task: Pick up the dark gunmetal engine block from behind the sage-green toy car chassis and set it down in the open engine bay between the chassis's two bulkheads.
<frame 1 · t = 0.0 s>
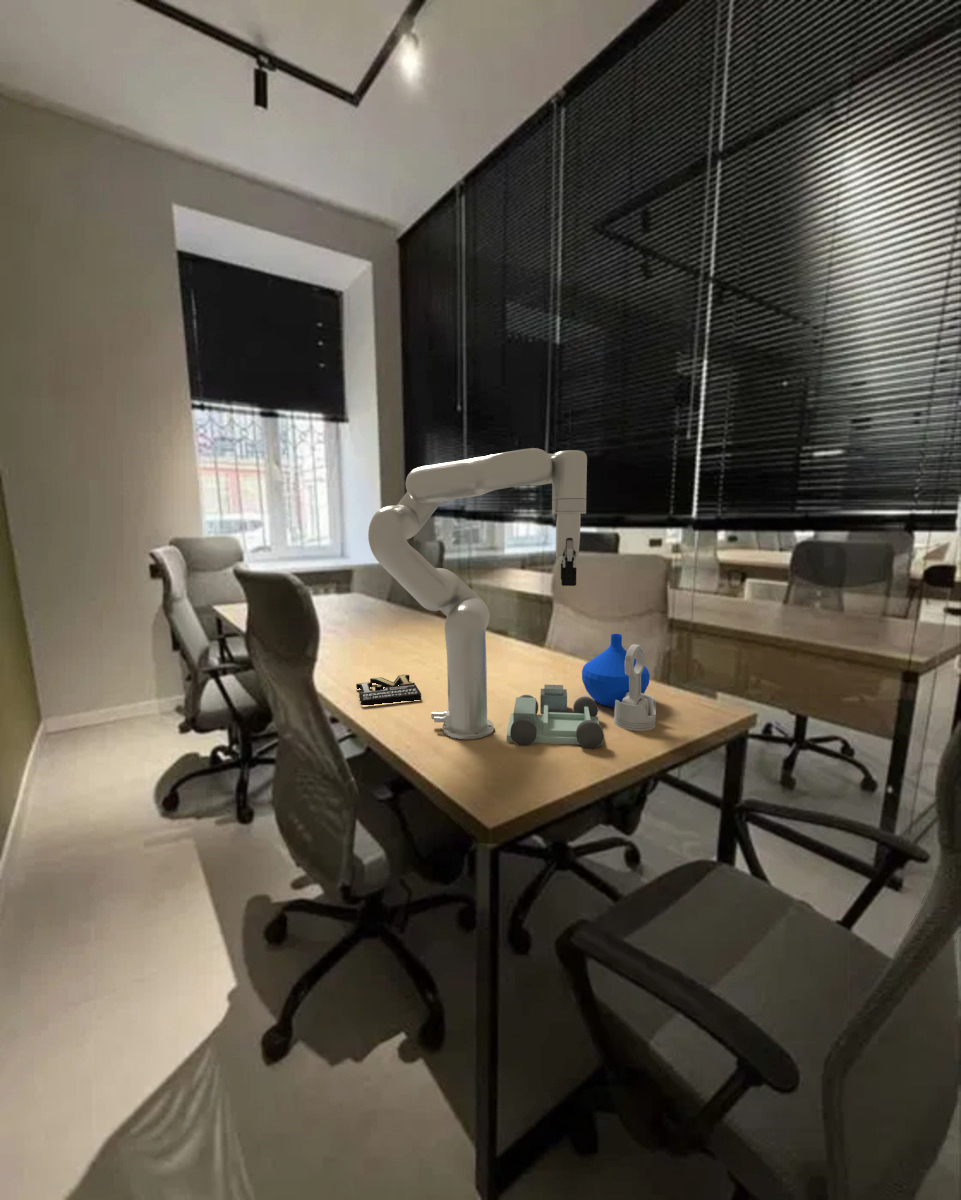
hand: (568, 582, 127), 37 cm above the table, tool pointing down, fingers open, 9 cm apart
vase: (614, 702, 155), on the table
engine component: (633, 724, 139), on the table
decorative sign: (387, 695, 164), on the table
engine block: (553, 709, 149), on the table
chassis: (553, 731, 134), on the table
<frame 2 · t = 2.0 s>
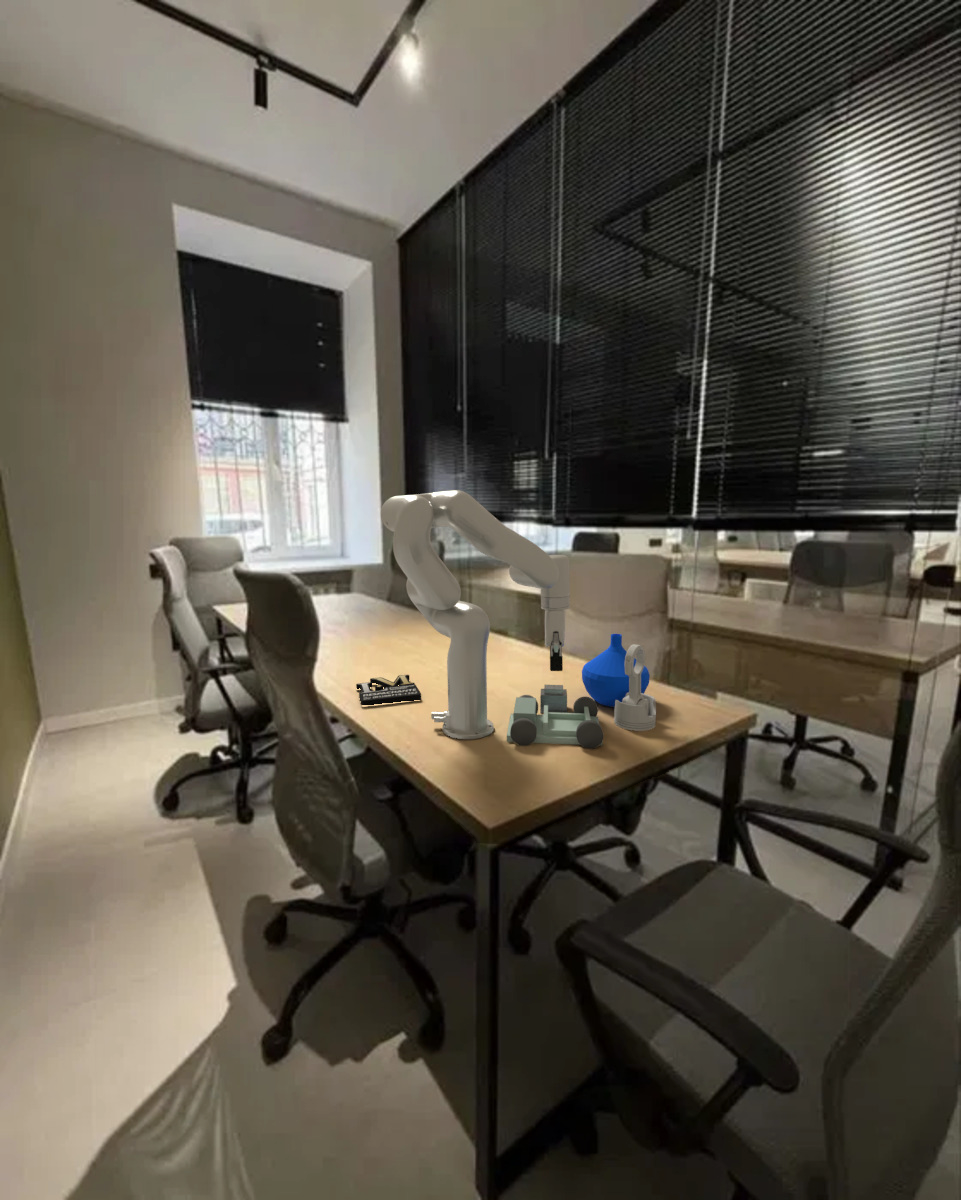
hand: (556, 665, 147), 12 cm above the table, tool pointing down, fingers open, 9 cm apart
nothing on the table moved.
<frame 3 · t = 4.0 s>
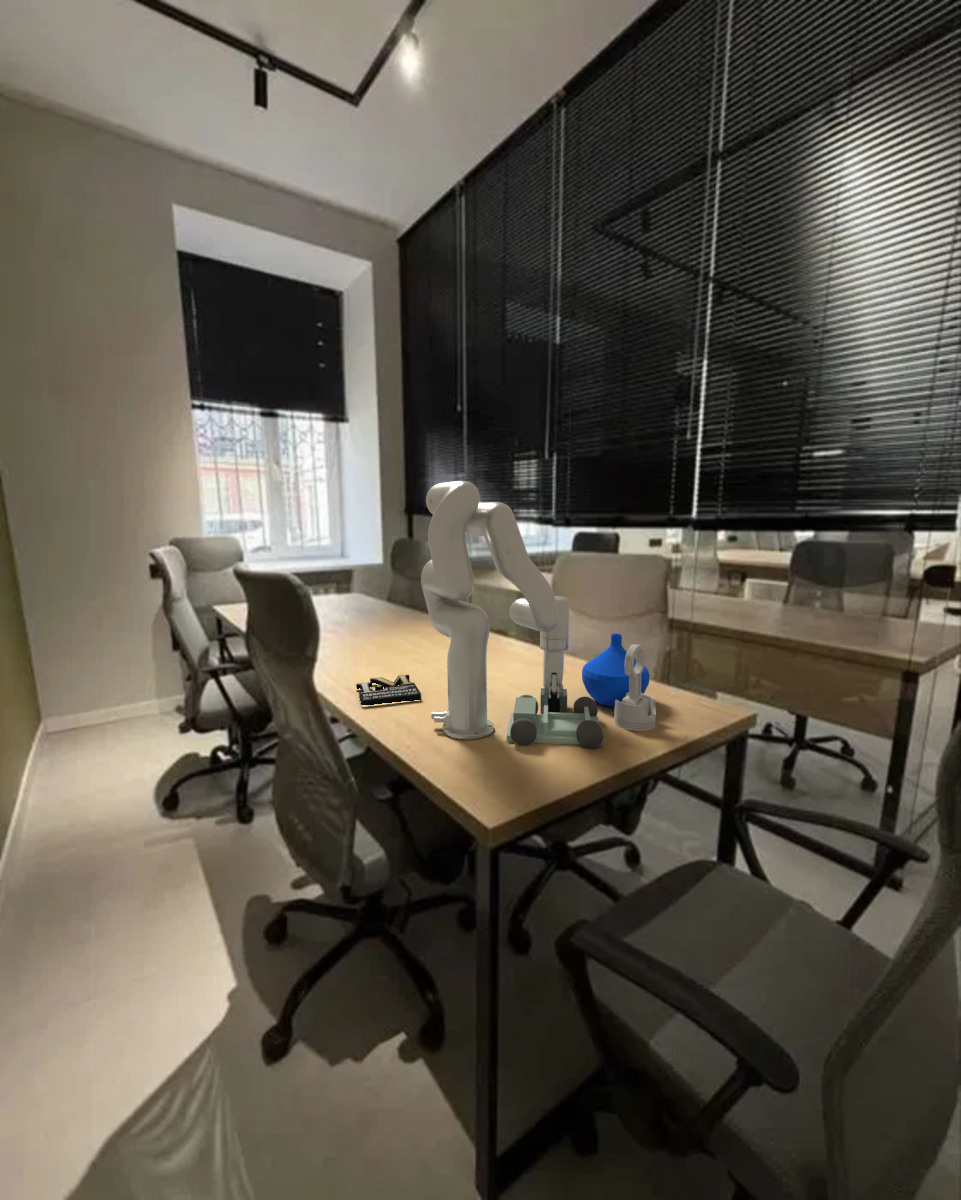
hand: (553, 707, 149), 1 cm above the table, tool pointing down, fingers closed on engine block, 5 cm apart
engine block: (553, 709, 149), on the table, touching gripper
everything else where it was.
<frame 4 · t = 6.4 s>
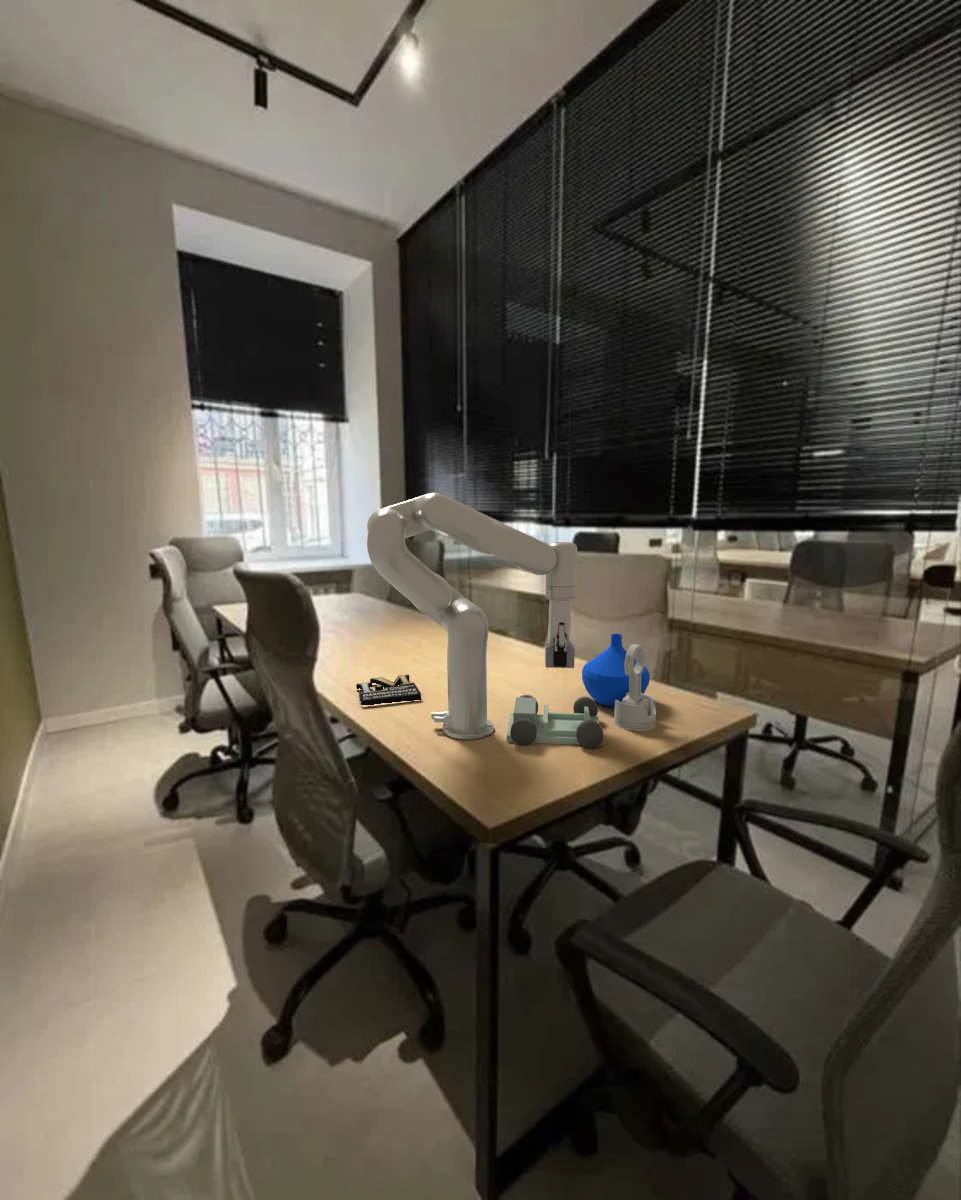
hand: (559, 662, 139), 15 cm above the table, tool pointing down, fingers closed on engine block, 5 cm apart
engine block: (559, 664, 139), point 15 cm above the table, touching gripper
everything else where it was.
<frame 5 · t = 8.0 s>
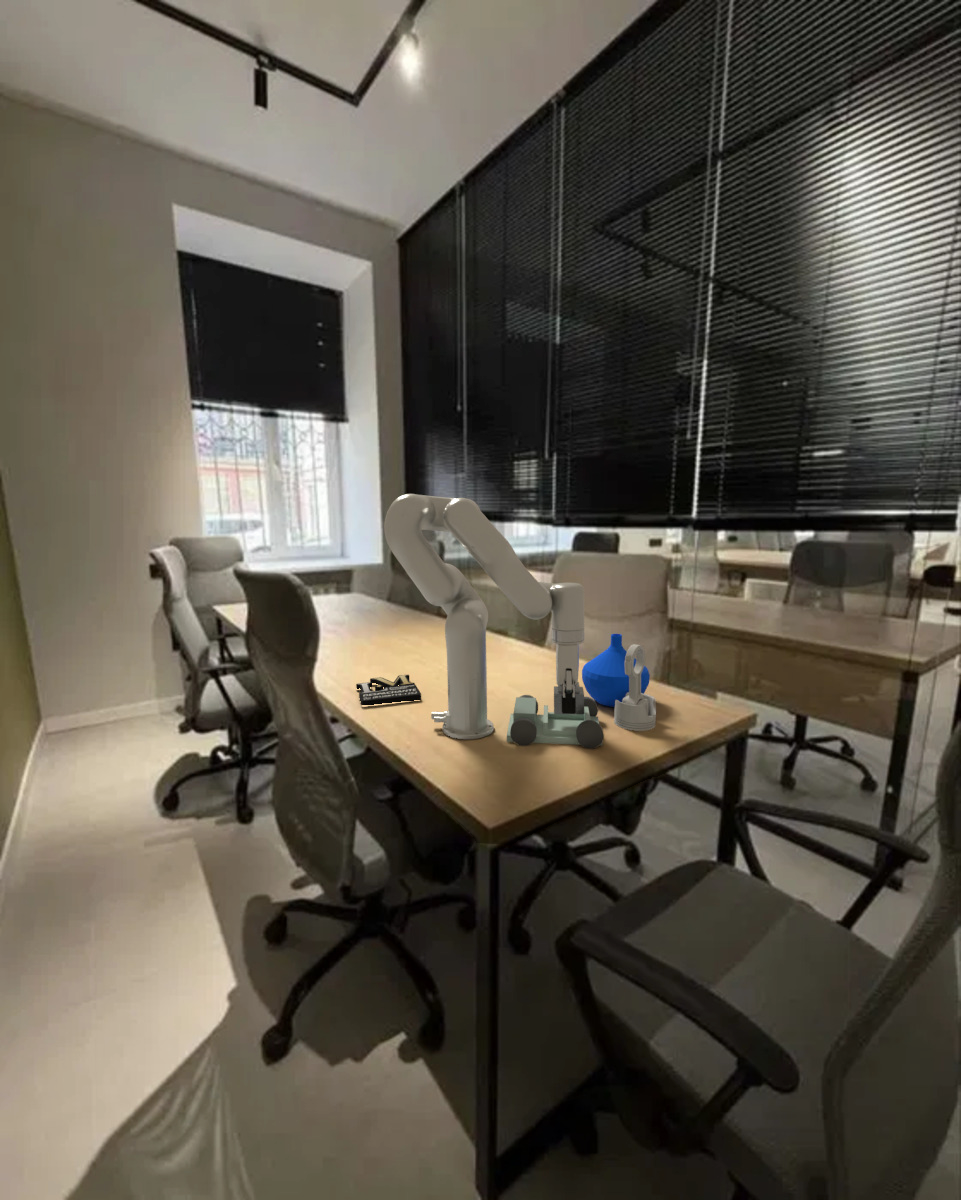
hand: (568, 707, 133), 6 cm above the table, tool pointing down, fingers closed on engine block, 5 cm apart
engine block: (568, 710, 133), point 6 cm above the table, touching gripper
everything else where it was.
when the fingers open (3 cm above the table, at t = 9.0 s): engine block drops 1 cm, resting on chassis.
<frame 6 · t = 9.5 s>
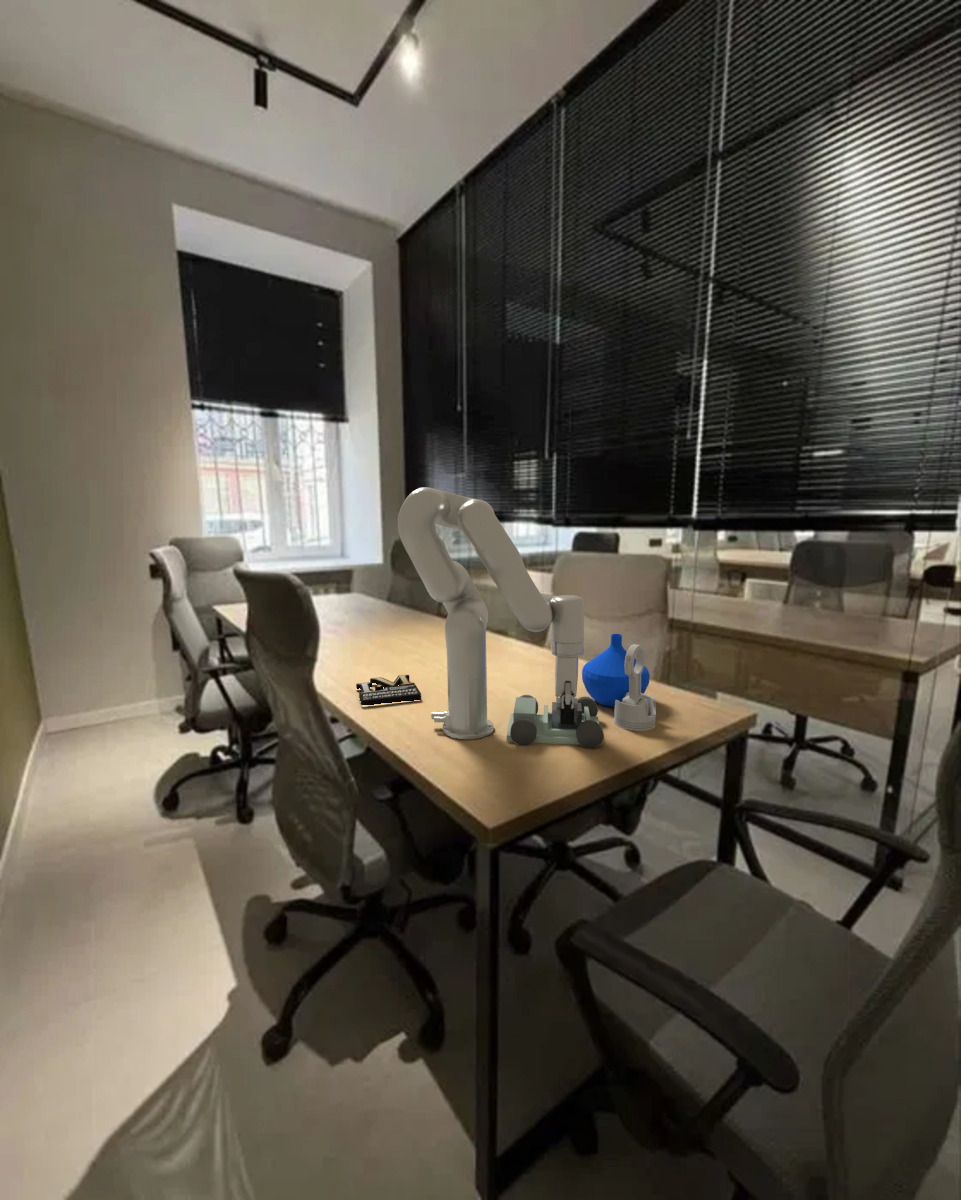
hand: (566, 716, 133), 4 cm above the table, tool pointing down, fingers open, 9 cm apart
engine block: (566, 726, 134), point 1 cm above the table, touching chassis
everything else where it was.
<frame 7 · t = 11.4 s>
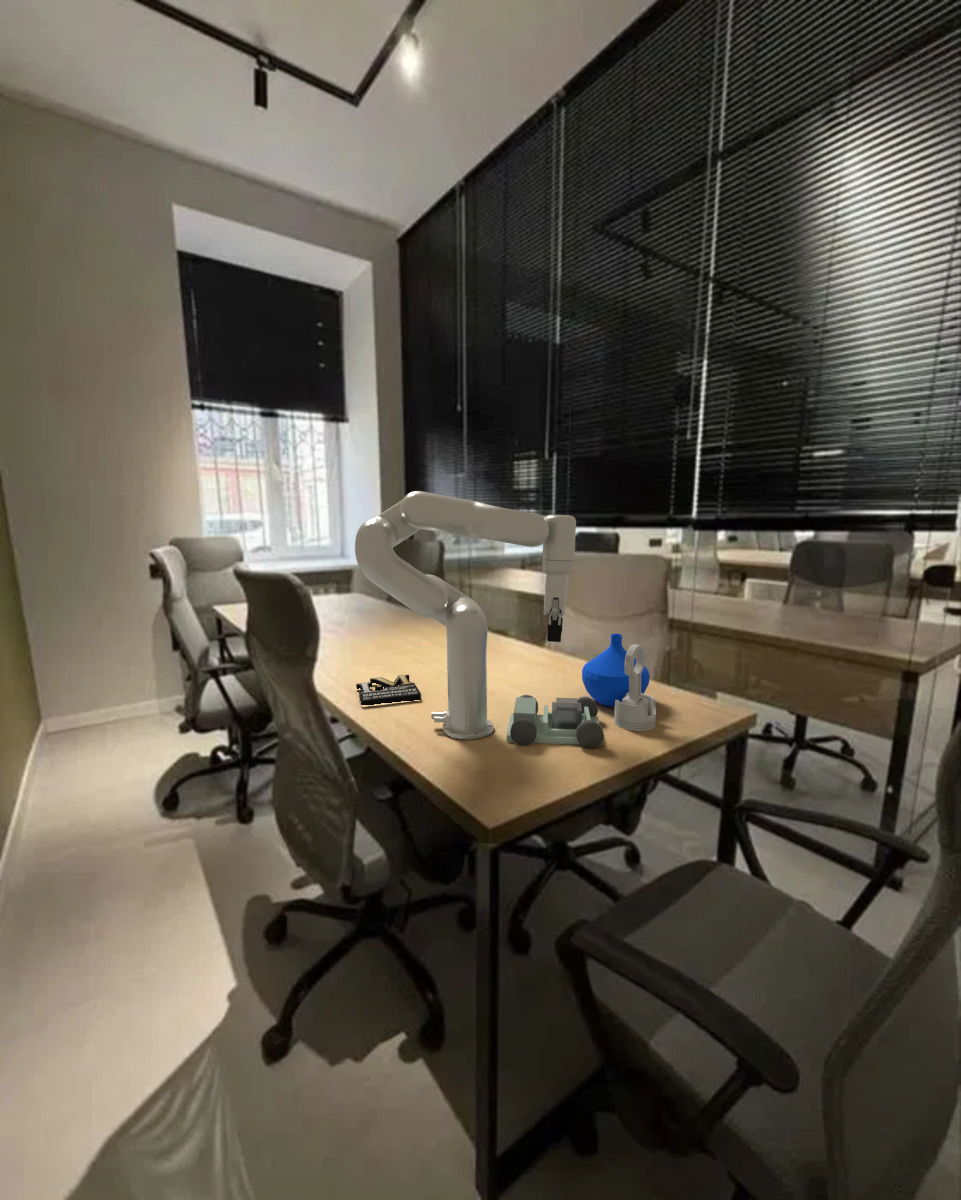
hand: (554, 636, 135), 23 cm above the table, tool pointing down, fingers open, 9 cm apart
nothing on the table moved.
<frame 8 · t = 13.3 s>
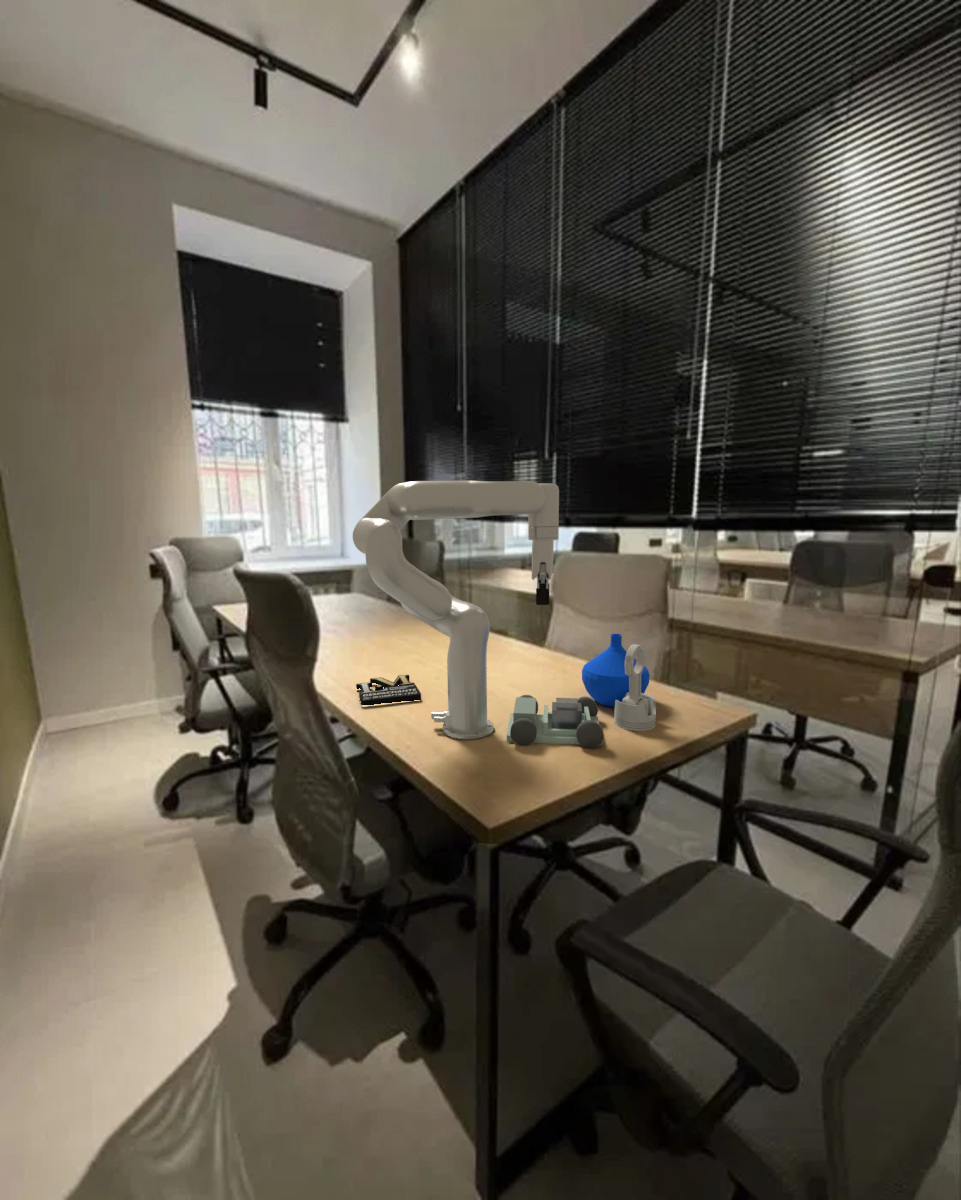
hand: (542, 601, 140), 30 cm above the table, tool pointing down, fingers open, 9 cm apart
nothing on the table moved.
at the end: engine block 0.0 cm from the target spot on the chassis, point 1.5 cm above the chassis's base; engine block tilted 0°; the gripper is holding nothing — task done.
